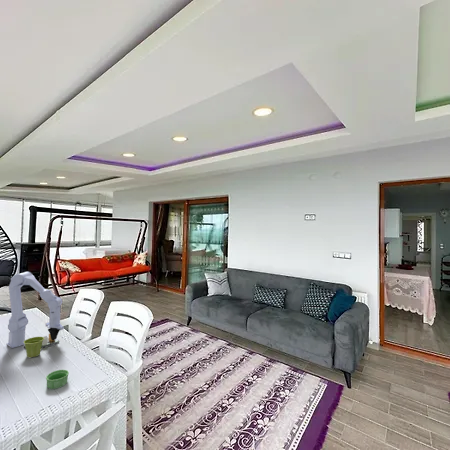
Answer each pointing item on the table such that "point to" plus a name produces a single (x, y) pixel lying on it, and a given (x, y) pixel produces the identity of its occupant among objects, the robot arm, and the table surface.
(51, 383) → the ramekin
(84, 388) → the table surface
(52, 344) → the panel
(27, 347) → the plant pot
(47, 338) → the white breaker
